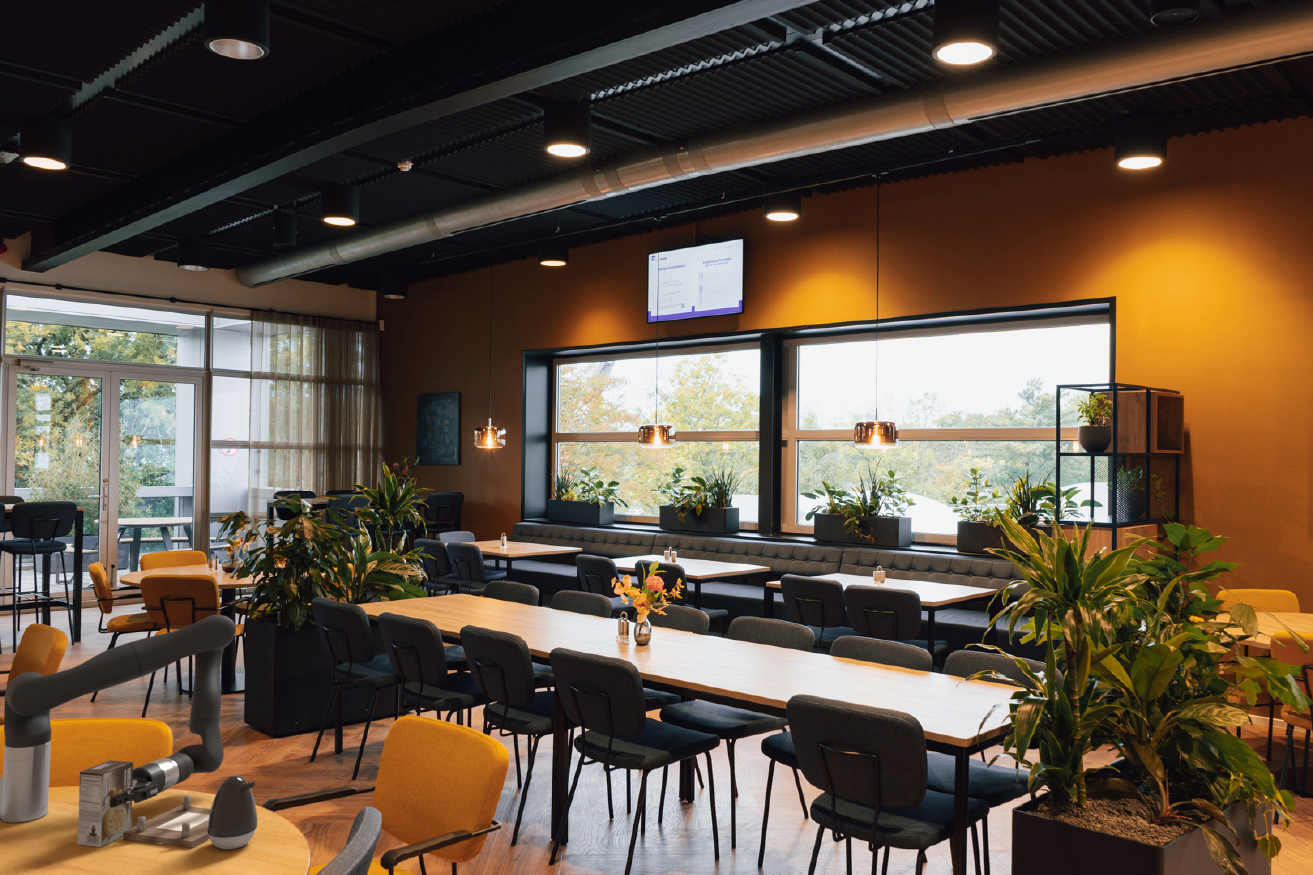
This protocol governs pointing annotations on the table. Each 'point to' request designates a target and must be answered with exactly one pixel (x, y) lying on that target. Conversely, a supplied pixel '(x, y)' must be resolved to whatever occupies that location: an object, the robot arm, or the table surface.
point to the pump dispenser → (232, 814)
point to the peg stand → (173, 827)
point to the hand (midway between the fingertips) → (98, 801)
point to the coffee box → (104, 803)
